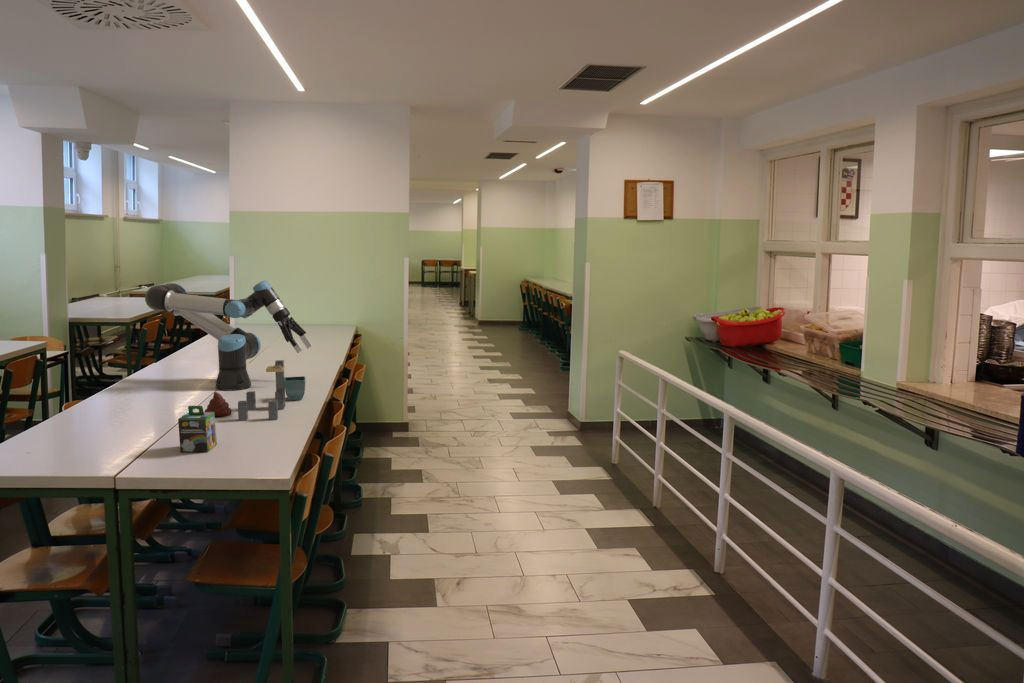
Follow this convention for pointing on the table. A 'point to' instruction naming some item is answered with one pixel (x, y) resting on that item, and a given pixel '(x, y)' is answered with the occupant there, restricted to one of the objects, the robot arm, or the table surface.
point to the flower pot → (295, 387)
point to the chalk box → (197, 430)
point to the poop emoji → (218, 406)
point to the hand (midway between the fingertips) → (305, 349)
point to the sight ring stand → (278, 375)
